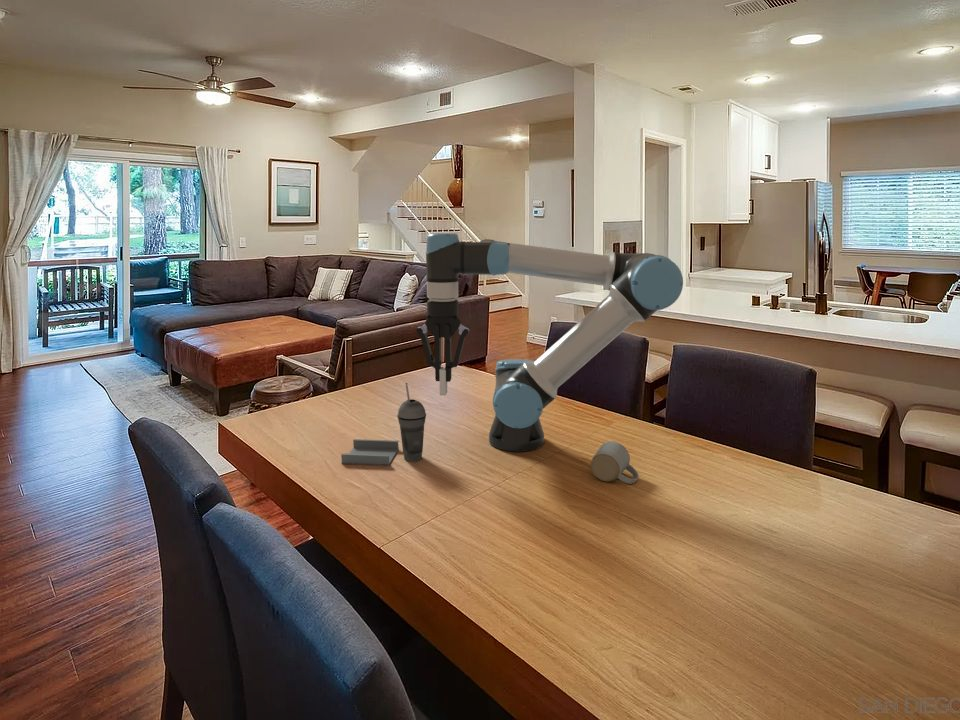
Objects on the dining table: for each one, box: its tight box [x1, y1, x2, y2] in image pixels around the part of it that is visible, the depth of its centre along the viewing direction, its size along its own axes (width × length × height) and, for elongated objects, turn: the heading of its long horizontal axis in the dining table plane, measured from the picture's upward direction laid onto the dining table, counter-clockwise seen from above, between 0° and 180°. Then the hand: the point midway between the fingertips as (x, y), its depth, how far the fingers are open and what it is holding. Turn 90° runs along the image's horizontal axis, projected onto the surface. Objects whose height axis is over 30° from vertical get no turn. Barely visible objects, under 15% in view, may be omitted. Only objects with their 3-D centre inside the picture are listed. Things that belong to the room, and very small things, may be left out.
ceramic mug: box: [590, 440, 639, 485], centre depth 138 cm, size 11×8×8 cm
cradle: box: [340, 438, 400, 467], centre depth 151 cm, size 12×11×2 cm
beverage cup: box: [397, 382, 427, 463], centre depth 148 cm, size 7×7×20 cm
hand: (443, 393), depth 145 cm, fingers closed
